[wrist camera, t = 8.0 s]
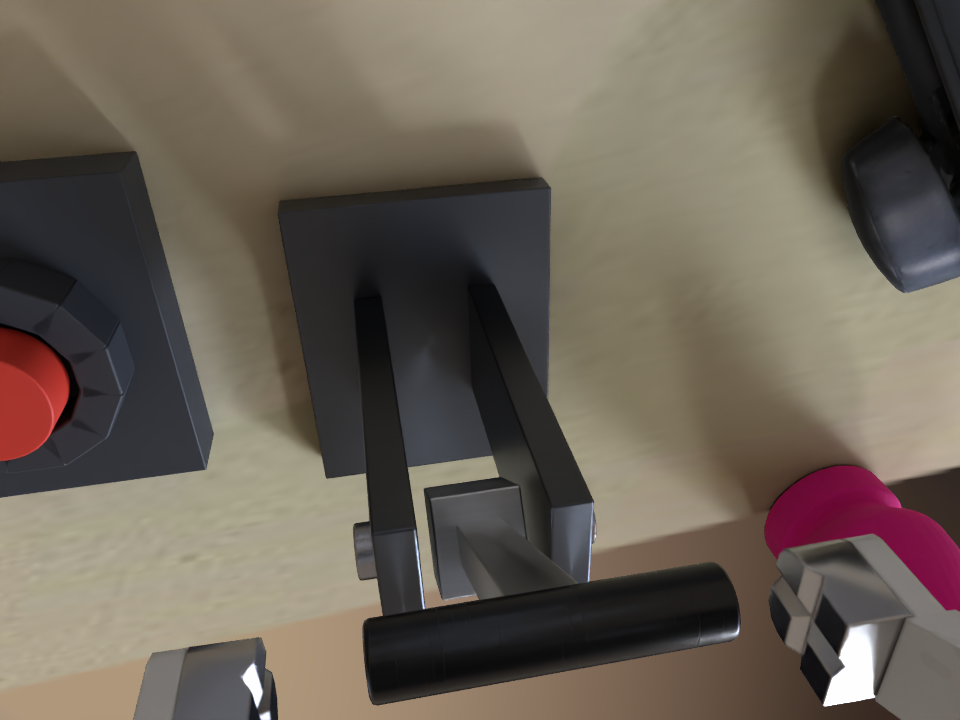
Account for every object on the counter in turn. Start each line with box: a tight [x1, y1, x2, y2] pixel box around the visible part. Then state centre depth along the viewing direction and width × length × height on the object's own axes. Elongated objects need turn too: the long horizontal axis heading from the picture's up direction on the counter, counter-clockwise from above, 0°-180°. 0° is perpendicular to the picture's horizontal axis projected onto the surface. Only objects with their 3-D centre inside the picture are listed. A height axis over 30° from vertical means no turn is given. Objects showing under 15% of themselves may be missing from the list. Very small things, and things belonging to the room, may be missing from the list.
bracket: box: [277, 177, 596, 616], centre depth 23 cm, size 11×9×13 cm
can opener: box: [841, 0, 960, 293], centre depth 24 cm, size 18×7×6 cm, turn 29°
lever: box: [362, 477, 741, 705], centre depth 15 cm, size 11×5×2 cm
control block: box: [0, 151, 214, 498], centre depth 24 cm, size 11×9×4 cm
